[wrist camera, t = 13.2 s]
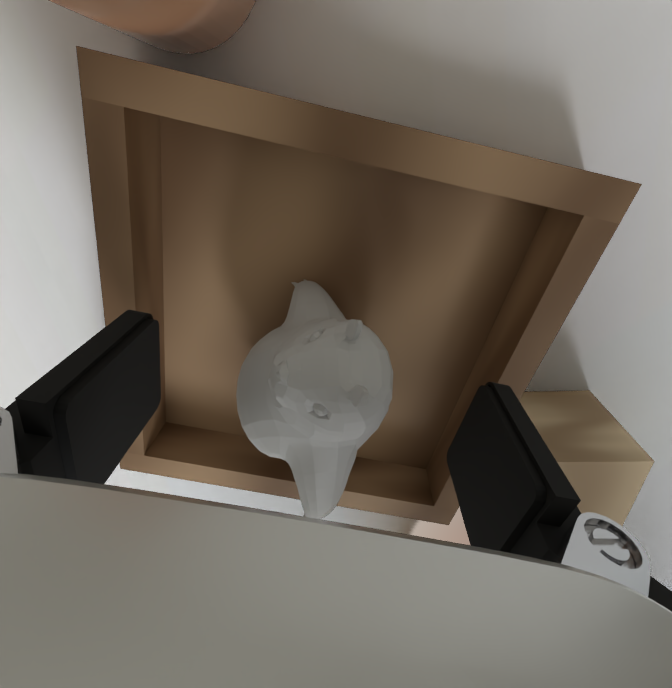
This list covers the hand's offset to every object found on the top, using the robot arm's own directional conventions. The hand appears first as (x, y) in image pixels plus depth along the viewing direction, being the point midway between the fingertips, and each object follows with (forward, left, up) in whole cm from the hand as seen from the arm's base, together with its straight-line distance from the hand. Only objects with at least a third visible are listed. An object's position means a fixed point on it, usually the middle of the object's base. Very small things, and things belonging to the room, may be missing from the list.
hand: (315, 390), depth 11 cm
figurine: (0, 0, -4) cm, 4 cm away
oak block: (-10, +3, -4) cm, 11 cm away
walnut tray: (0, 0, -4) cm, 4 cm away
